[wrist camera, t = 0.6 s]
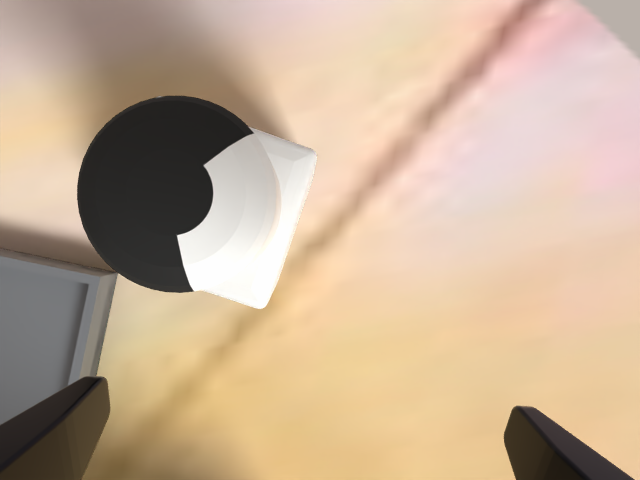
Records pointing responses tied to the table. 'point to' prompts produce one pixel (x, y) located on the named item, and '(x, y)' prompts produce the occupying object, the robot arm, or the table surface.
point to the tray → (48, 326)
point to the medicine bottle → (193, 199)
